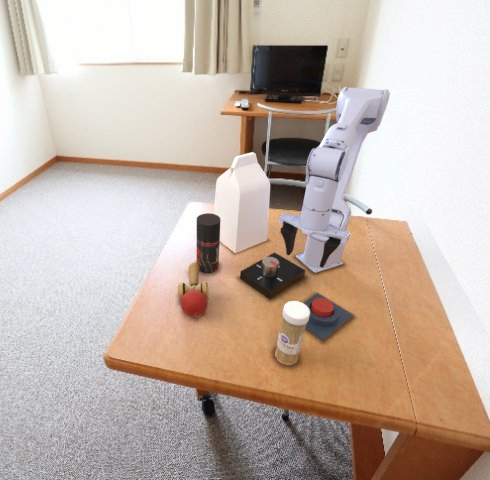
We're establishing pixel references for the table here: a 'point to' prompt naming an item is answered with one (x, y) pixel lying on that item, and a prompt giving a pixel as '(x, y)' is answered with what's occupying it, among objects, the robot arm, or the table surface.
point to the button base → (325, 320)
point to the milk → (243, 203)
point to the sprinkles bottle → (291, 332)
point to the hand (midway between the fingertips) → (305, 258)
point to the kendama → (193, 293)
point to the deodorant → (208, 242)
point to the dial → (269, 267)
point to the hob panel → (272, 286)
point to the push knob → (322, 307)
